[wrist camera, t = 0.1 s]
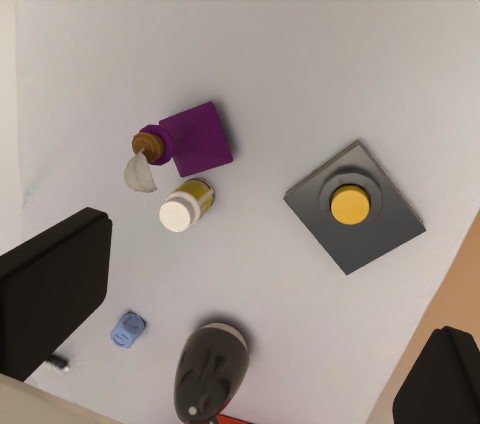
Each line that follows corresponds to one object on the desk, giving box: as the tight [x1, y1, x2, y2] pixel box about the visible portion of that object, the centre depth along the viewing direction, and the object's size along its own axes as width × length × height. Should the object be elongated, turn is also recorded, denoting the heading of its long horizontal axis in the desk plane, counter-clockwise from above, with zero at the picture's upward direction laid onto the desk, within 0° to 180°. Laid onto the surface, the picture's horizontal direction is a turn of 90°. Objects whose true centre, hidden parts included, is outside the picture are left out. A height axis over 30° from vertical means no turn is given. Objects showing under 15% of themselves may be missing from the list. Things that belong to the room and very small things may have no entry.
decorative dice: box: [110, 313, 145, 348], centre depth 62 cm, size 4×4×4 cm
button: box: [331, 185, 369, 224], centre depth 42 cm, size 4×4×2 cm
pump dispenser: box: [174, 323, 249, 424], centre depth 53 cm, size 10×10×15 cm
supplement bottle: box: [159, 178, 214, 232], centre depth 48 cm, size 5×5×8 cm
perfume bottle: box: [124, 102, 233, 193], centre depth 40 cm, size 8×8×18 cm
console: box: [283, 140, 426, 275], centre depth 45 cm, size 13×11×4 cm
